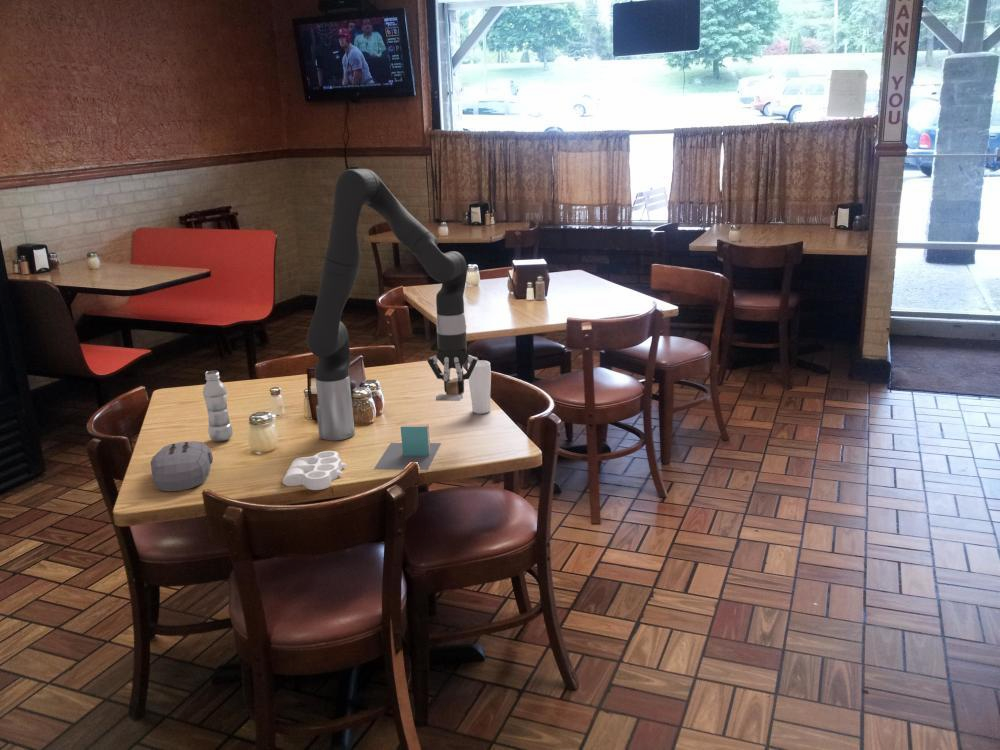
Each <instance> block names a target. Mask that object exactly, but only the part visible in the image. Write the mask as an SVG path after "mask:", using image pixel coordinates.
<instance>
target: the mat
mask: <svg viewBox="0 0 1000 750" xmlns="http://www.w3.org/2000/svg"><path fill="white" fill-rule="evenodd" d="M441 444H442V442H430V451H431V453H430V455H429V456H403V450H402V442H390V443H389V445H388V446H387V447H386V449H385V451H384V452H383V454H382V455H381V457H380V459H379V460H378V461H377V463H376V465H375V466H374V468H373V470H405V469H404V468H405V467H406V466H407V465H408V464H409V463H410V462H418V464H419V467H420V470H419V471H421V470H424V471H425V470H427V471H428V470H429V468H430V466H431V464H432V462H433V461H434V458H435V456H436V454H437V452H438V450H439V448H440V447H441Z"/></svg>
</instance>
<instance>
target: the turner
mask: <svg viewBox="0 0 1000 750" xmlns="http://www.w3.org/2000/svg"><path fill="white" fill-rule="evenodd" d="M463 394H465V390H464V391H463V393H462V394H461V395H459V391H458V377H454V378H452V379H450V381H448V382H447V383H446V393H443V394H442V393H441V394H438V395H436V396H435V401H436V402H437V401H438V402H440V401H443V402H459V401H461V400H463V398H464V397H463Z"/></svg>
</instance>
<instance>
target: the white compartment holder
mask: <svg viewBox="0 0 1000 750" xmlns="http://www.w3.org/2000/svg"><path fill="white" fill-rule="evenodd" d="M347 465H348V464H347V463H345V462H342V460H341V458H340V454H339V453H338V451H334V450H324V451H321V452H317V453H316V454H315V455H311V456H303V457H297V458H295V459H294V460H292V461H291V465H290V466H289V468H287V471H286V473H285V475H284V477H282V483H283V485H284V486H287V487H291V486H292V487H295V486H304V487H306V489H308V490H311V491H319V490H325V489H327V488H330V487H331V484H332V483H331V482H332V481H333V480H336V479H338V477H340V476H343V475H344V473H343V472H342V471H343V469H344V468H345V467H346V466H347Z"/></svg>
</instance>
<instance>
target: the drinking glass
mask: <svg viewBox="0 0 1000 750" xmlns="http://www.w3.org/2000/svg"><path fill="white" fill-rule="evenodd" d="M469 367H470V364H469V363H468V362H467V370H468V369H469ZM467 380H468V384H469V393H470V398H471V406H472V407H471V409H472V412H473V413H475V414H478V415H483V414H487V413H489V412H490V411H491V387H492V386H491V385H492V384H491V382H492V371H491V362H490V361H488V360H484V359H482V360H480V359H478V361H477V363H476V365H475V367H474V369H473V371H472V373H471V375H470V377H469V379H467Z"/></svg>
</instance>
